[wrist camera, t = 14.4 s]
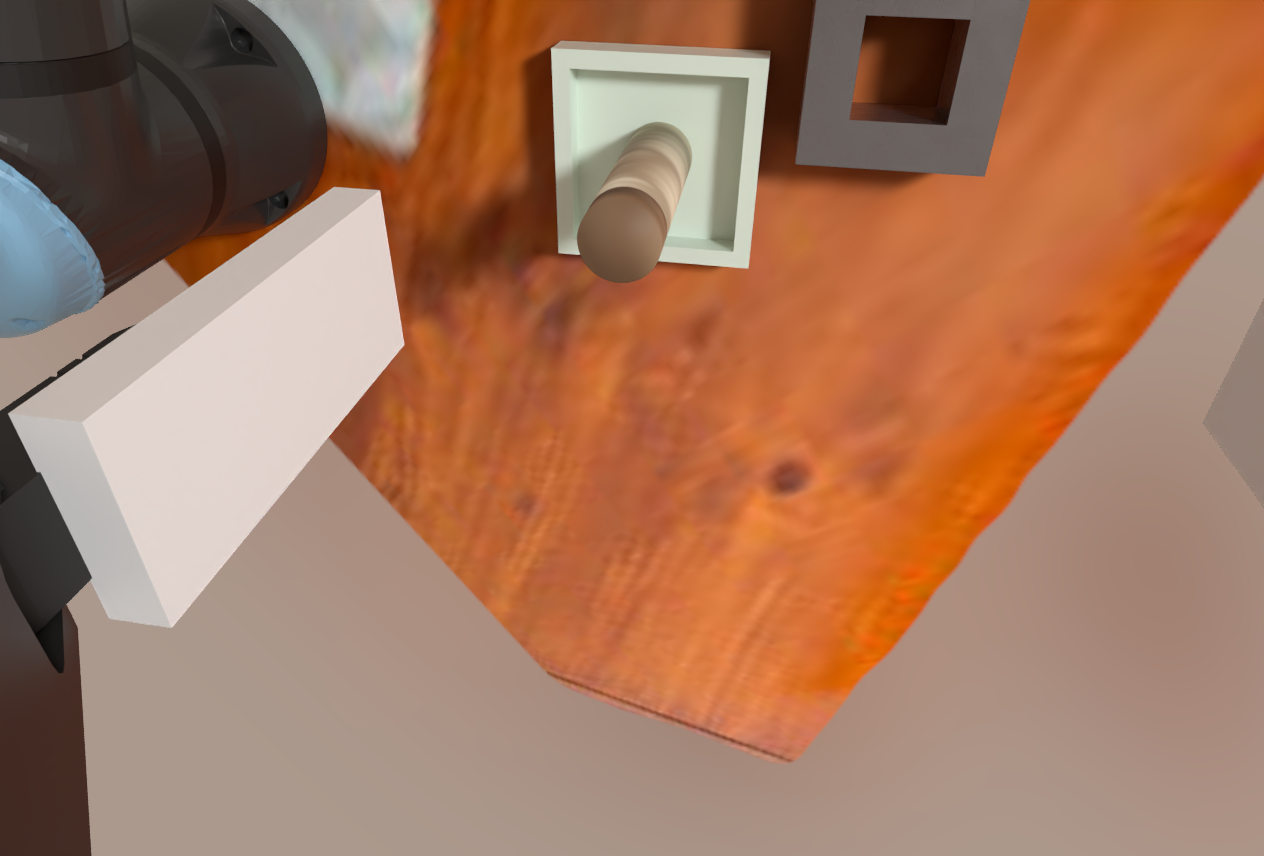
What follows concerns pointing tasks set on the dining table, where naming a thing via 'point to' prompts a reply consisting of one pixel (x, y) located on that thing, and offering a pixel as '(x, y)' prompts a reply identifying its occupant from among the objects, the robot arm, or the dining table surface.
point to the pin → (636, 205)
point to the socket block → (900, 134)
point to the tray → (678, 95)
